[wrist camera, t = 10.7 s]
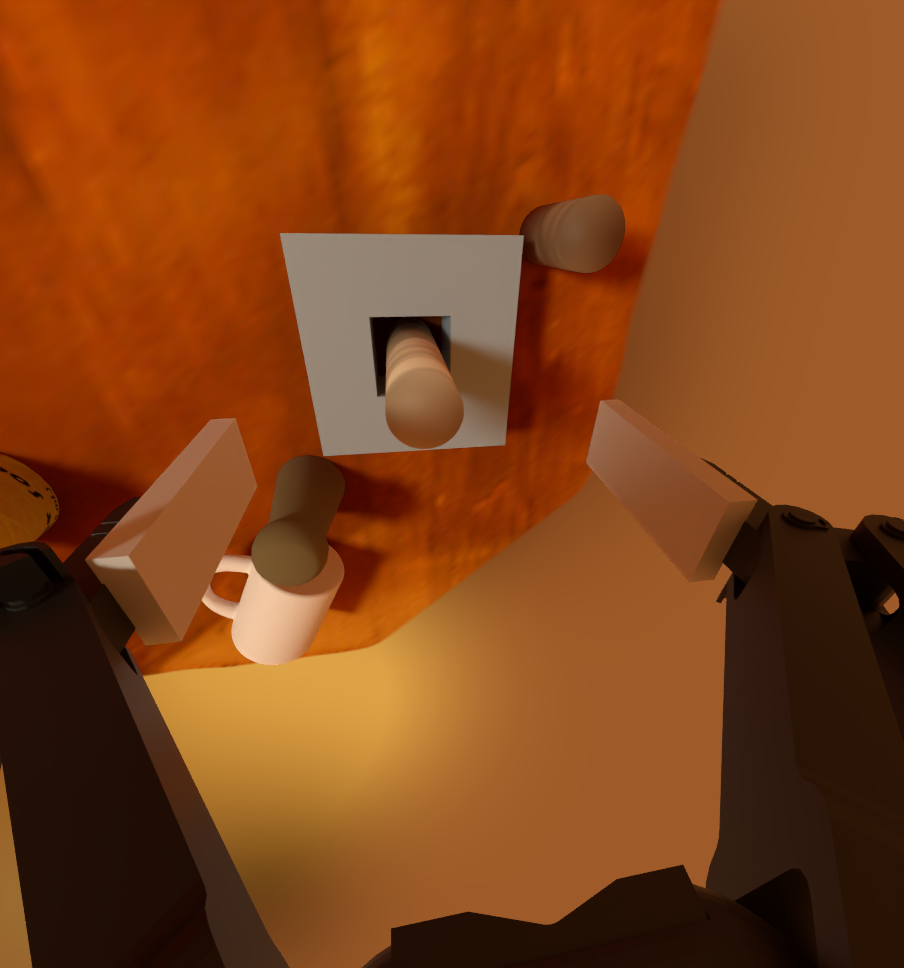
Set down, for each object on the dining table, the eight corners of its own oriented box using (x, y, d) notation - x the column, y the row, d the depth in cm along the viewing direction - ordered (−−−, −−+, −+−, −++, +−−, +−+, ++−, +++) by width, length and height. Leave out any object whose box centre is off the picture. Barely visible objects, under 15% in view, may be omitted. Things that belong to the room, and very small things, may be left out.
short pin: (521, 204, 26) (567, 193, 20) (571, 205, 27) (632, 195, 20) (516, 264, 28) (556, 273, 22) (563, 265, 29) (616, 273, 22)
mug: (348, 544, 40) (340, 605, 34) (319, 607, 44) (307, 672, 38) (223, 511, 36) (185, 573, 29) (204, 583, 40) (167, 651, 34)
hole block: (297, 234, 26) (280, 233, 21) (502, 235, 27) (523, 235, 23) (331, 428, 33) (323, 456, 29) (490, 420, 35) (505, 444, 31)
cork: (344, 456, 35) (329, 534, 25) (346, 510, 38) (333, 598, 29) (273, 454, 34) (230, 535, 24) (280, 510, 37) (245, 600, 28)
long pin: (384, 317, 29) (381, 376, 16) (432, 316, 29) (464, 373, 17) (388, 365, 31) (388, 451, 18) (433, 364, 31) (463, 446, 19)
